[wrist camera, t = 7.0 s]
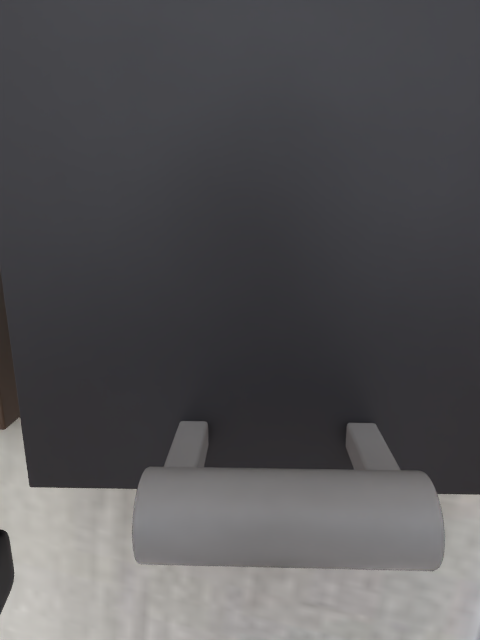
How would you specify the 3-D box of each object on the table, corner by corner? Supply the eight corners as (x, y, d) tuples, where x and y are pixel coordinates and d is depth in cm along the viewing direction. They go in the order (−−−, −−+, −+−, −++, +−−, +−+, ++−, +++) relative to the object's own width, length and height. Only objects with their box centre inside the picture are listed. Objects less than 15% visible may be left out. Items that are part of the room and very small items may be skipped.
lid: (517, 479, 12) (672, 640, 7) (41, 472, 12) (-80, 620, 8) (595, -16, 9) (914, -227, 5) (-19, 0, 9) (-254, -178, 5)
